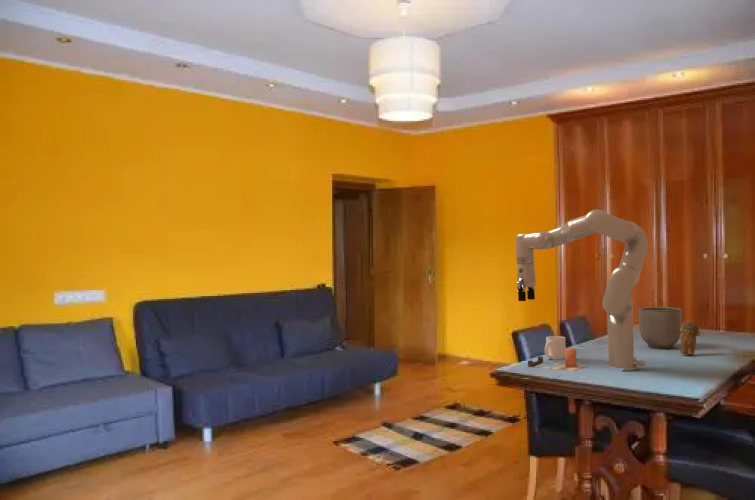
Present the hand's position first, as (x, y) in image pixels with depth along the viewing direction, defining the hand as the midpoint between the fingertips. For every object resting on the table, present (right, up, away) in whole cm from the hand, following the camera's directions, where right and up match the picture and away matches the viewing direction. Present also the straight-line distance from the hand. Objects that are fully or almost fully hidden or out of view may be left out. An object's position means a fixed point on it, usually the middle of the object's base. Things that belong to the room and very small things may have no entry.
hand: (526, 300), depth 271 cm
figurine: (+76, -26, +7) cm, 80 cm away
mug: (+12, -27, +1) cm, 30 cm away
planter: (+73, -26, +31) cm, 84 cm away
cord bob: (+13, -25, -20) cm, 35 cm away
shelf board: (+8, -27, -19) cm, 34 cm away
